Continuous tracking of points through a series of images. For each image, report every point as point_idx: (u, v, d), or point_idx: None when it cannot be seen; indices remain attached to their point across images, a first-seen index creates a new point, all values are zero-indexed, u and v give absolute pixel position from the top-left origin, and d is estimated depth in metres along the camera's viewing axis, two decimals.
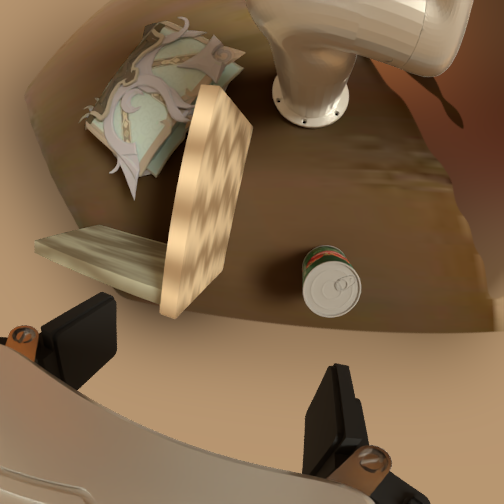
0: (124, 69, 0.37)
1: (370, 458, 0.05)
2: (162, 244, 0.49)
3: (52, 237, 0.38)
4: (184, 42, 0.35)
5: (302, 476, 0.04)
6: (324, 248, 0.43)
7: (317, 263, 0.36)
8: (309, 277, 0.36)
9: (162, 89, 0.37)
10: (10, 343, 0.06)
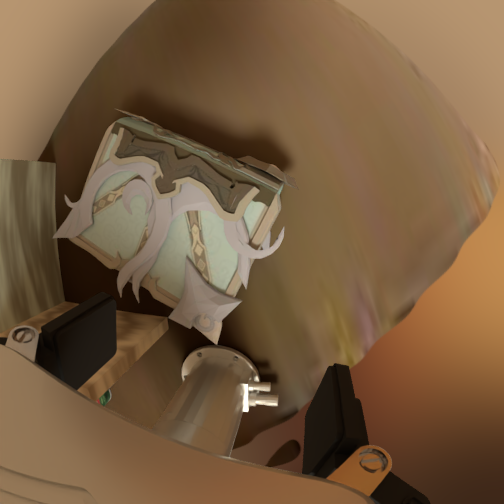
0: (180, 163, 0.29)
1: (370, 458, 0.05)
2: (54, 252, 0.41)
3: None
4: (230, 254, 0.31)
5: (302, 476, 0.04)
6: None
7: None
8: None
9: (148, 247, 0.31)
10: (10, 343, 0.06)
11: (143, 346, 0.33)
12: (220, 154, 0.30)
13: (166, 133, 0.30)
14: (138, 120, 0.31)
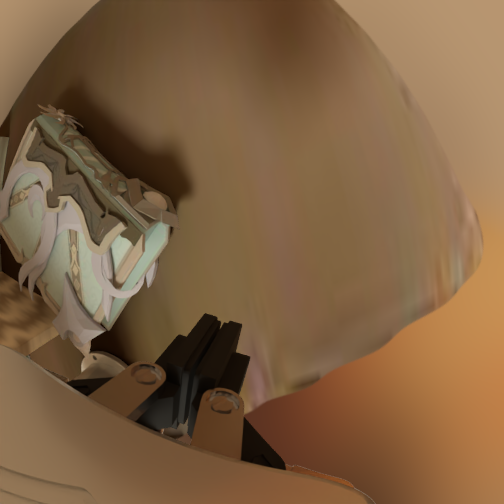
0: (67, 179, 0.23)
1: (218, 401, 0.07)
2: None
3: None
4: (99, 283, 0.26)
5: (302, 476, 0.04)
6: None
7: None
8: None
9: (38, 255, 0.26)
10: (135, 387, 0.07)
11: (39, 340, 0.28)
12: (107, 173, 0.25)
13: (68, 140, 0.24)
14: (55, 118, 0.25)
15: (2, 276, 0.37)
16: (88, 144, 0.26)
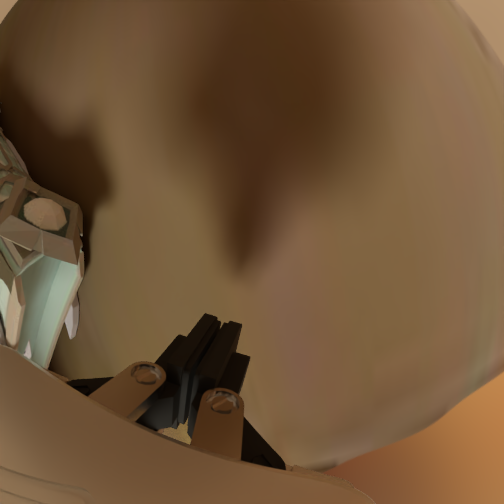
0: None
1: (218, 401, 0.07)
2: None
3: None
4: None
5: (302, 476, 0.04)
6: None
7: None
8: None
9: None
10: (135, 387, 0.07)
11: None
12: None
13: None
14: None
15: None
16: None
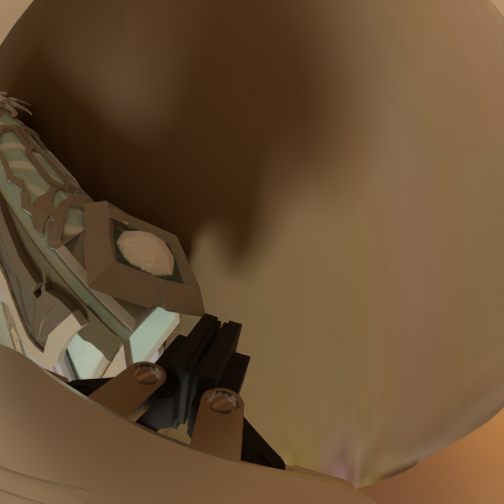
0: None
1: (218, 401, 0.07)
2: None
3: None
4: None
5: (302, 476, 0.04)
6: None
7: None
8: None
9: None
10: (135, 387, 0.07)
11: None
12: (46, 194, 0.10)
13: None
14: None
15: None
16: (26, 139, 0.12)
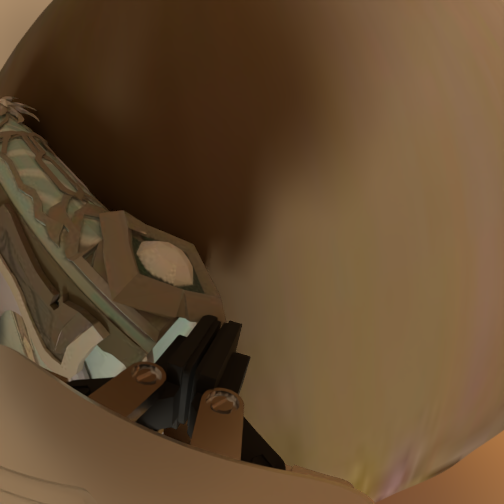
0: None
1: (218, 401, 0.07)
2: None
3: None
4: None
5: (302, 476, 0.04)
6: None
7: None
8: None
9: None
10: (135, 387, 0.07)
11: None
12: (59, 203, 0.11)
13: (1, 141, 0.10)
14: None
15: None
16: (35, 145, 0.12)
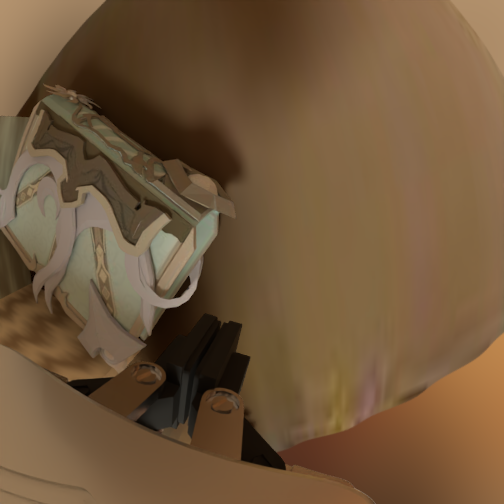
0: (86, 165, 0.19)
1: (218, 401, 0.07)
2: None
3: None
4: (135, 290, 0.22)
5: (302, 476, 0.04)
6: None
7: None
8: None
9: (55, 260, 0.22)
10: (135, 387, 0.07)
11: None
12: (138, 155, 0.20)
13: (84, 119, 0.20)
14: (66, 98, 0.20)
15: None
16: (109, 123, 0.22)
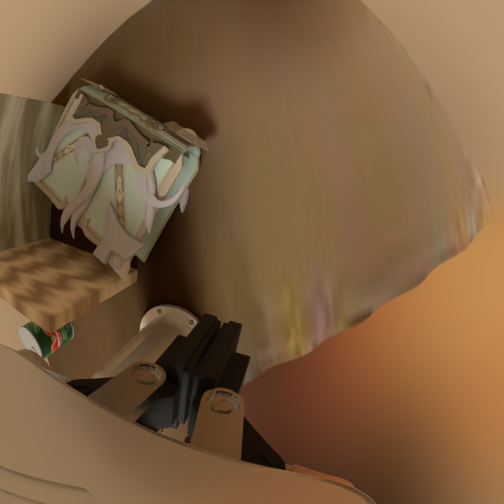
0: (115, 124, 0.31)
1: (218, 401, 0.07)
2: None
3: (11, 99, 0.25)
4: (142, 203, 0.33)
5: (302, 476, 0.04)
6: (65, 329, 0.46)
7: (39, 336, 0.39)
8: (29, 332, 0.38)
9: (84, 192, 0.33)
10: (135, 387, 0.07)
11: (109, 291, 0.35)
12: (148, 118, 0.32)
13: (113, 100, 0.31)
14: (97, 88, 0.32)
15: (52, 241, 0.44)
16: (128, 103, 0.33)
